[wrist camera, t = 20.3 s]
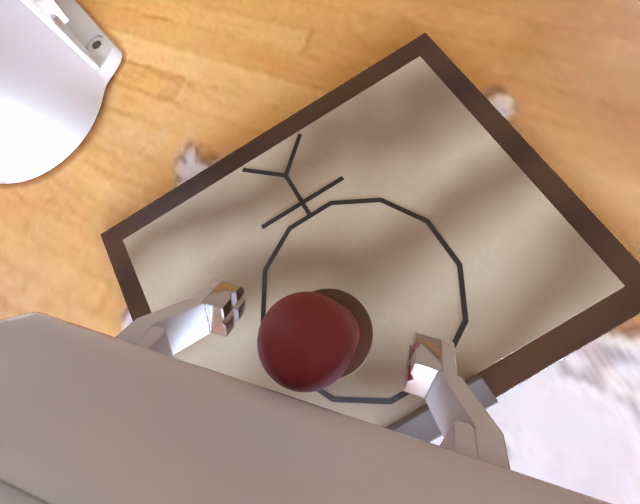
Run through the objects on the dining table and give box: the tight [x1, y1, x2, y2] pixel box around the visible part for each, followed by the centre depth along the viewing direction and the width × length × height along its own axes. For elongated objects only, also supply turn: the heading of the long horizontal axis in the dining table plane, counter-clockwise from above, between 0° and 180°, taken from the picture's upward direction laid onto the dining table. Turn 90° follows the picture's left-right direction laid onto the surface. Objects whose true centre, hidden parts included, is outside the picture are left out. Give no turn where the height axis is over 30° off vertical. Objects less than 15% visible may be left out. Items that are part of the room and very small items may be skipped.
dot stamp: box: [257, 288, 373, 393], centre depth 13 cm, size 5×5×10 cm
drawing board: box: [101, 33, 640, 443], centre depth 19 cm, size 22×28×1 cm
